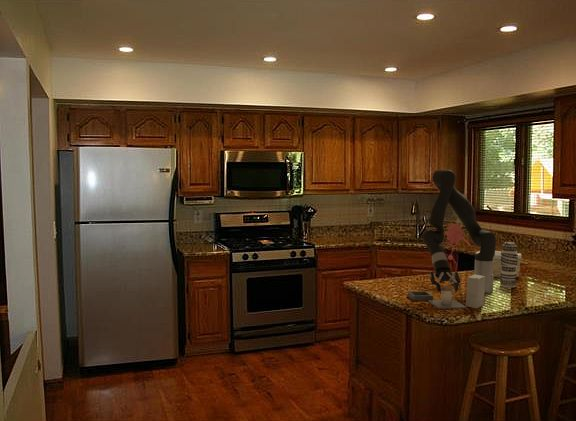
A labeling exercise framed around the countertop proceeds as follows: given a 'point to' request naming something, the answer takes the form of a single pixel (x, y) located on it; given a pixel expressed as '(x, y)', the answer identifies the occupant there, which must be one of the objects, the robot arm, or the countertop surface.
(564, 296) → the countertop surface
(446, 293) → the cream jar
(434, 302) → the slate tile
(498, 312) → the countertop surface
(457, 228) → the figurine
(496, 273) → the storage basket
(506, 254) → the decorative candle
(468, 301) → the skincare box
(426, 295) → the grey holder
